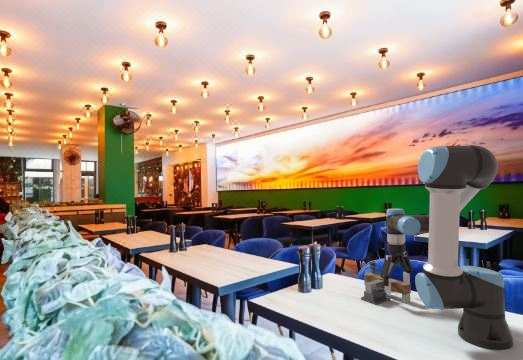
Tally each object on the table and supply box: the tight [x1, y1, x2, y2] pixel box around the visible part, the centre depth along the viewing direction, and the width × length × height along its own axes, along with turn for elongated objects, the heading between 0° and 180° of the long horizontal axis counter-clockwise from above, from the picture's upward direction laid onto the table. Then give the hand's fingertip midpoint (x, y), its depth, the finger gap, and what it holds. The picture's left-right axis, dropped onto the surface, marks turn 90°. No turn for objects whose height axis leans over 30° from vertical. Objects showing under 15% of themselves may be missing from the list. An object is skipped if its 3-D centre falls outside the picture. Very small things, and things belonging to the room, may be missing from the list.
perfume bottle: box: [363, 261, 381, 275], centre depth 163 cm, size 6×6×12 cm
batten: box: [363, 273, 412, 295], centre depth 149 cm, size 22×4×4 cm, turn 32°
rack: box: [364, 285, 411, 305], centre depth 148 cm, size 22×3×4 cm, turn 32°
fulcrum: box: [360, 279, 391, 306], centre depth 144 cm, size 8×10×8 cm
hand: (397, 289), depth 144 cm, fingers open, 13 cm apart
